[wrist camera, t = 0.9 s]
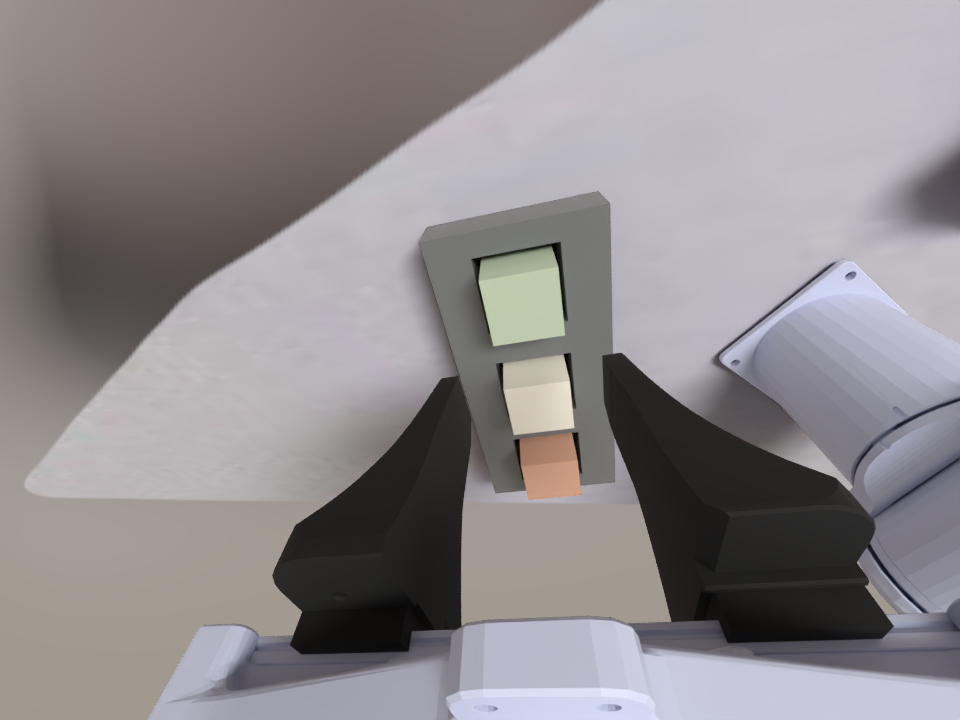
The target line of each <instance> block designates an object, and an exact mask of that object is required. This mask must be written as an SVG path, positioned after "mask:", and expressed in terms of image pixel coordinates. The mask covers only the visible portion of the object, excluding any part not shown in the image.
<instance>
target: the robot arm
mask: <svg viewBox="0 0 960 720" xmlns="http://www.w3.org/2000/svg"><path fill="white" fill-rule="evenodd" d="M849 272H851V273H850V274H849V275H848V276H847V277H845V276H846V275H847V274H848V273H849ZM719 360H720V361H721V363H722V364H723V365H725V366H726V367H727V368H729V369H730V370H732V371H733V372H735V373H736V374H737V375H739V376H740V377H742V378H743V379H745V380H746V381H747V382H749V383H750V384H752V385H753V386H754V387H756V388H757V389H759V390H760V391H762V392H763V393H764V394H766V395H767V396H769V397H770V398H772V399H773V400H774V401H776V402H777V403H779V404H780V405H781V406H782V407H783V408H784V410H785V411H786V412H787V413H788V414H789V415H790V416H791V417H792V418H793V420H794V421H795V422H796V423H797V424H798V425H799V426H800V427H801V429H802V430H803V431H804V432H805V433H806V434H807V435H808V436H809V438H810V439H811V440H812V441H813V442H814V443H815V444H816V445H817V447H818V448H819V449H820V450H821V451H822V452H823V453H824V454H825V456H826V457H827V458H828V459H829V460H830V461H831V462H832V463H833V465H834V466H835V467H836V468H837V469H838V470H839V471H840V472H841V474H842V475H843V476H844V477H845V478H846V479H847V480H848V481H849V482H850V484H851V485H852V486H853V487H852V489H851V490H850V491H848V490H847V489H846V488H845V487H844V486H843V485H842V484H841V483H840V482H839V481H838V480H837V479H836V478H834V477H832V476H829V475H826V474H824V473H821V472H818V471H815V470H813V469H810V468H807V467H805V466H802V465H799V464H796V463H794V462H791V461H789V460H786V459H784V458H781V457H779V456H777V455H774V454H772V453H770V452H767V451H765V450H763V449H761V448H758V447H756V446H754V445H752V444H750V443H748V442H746V441H744V440H742V439H740V438H738V437H736V436H734V435H732V434H730V433H728V432H726V431H724V430H722V429H721V428H719V427H717V426H715V425H713V424H712V423H710V422H708V421H707V420H705V419H704V418H702V417H700V416H699V415H697V414H695V413H694V412H692V411H691V410H689V409H688V408H687V407H685V406H684V405H682V404H681V403H680V402H678V401H677V400H676V399H674V398H673V397H672V396H670V395H669V394H668V393H666V392H665V391H664V390H663V389H661V388H660V387H659V386H658V385H657V384H655V383H654V382H653V381H652V380H651V379H649V378H648V377H647V376H646V375H645V374H644V373H643V372H642V371H641V370H639V369H638V368H637V367H636V366H635V365H634V364H633V363H632V362H631V361H630V360H629V359H628V358H627V357H626V356H625V355H623V354H622V353H616V354H609V355H602V366H603V393H604V404H605V408H606V412H607V416H608V420H609V423H610V427H611V430H612V432H613V435H614V437H615V440H616V442H617V445H618V447H619V450H620V452H621V455H622V457H623V460H624V462H625V464H626V467H627V469H628V472H629V474H630V477H631V479H632V482H633V484H634V487H635V490H636V493H637V496H638V499H639V502H640V506H641V509H642V512H643V516H644V519H645V523H646V526H647V530H648V534H649V537H650V541H651V544H652V548H653V552H654V555H655V559H656V563H657V567H658V570H659V574H660V578H661V582H662V585H663V589H664V593H665V597H666V601H667V605H668V609H669V613H670V617H671V621H672V622H656V623H628V624H627V623H624V622H621V621H619V620H616V619H614V618H611V617H598V616H574V617H573V616H571V617H549V618H547V617H546V618H521V619H497V620H496V619H495V620H482V621H477V622H470V623H466V624H465V625H463V626H461V532H462V531H461V530H462V509H463V499H464V491H465V484H466V477H467V469H468V462H469V455H470V447H471V416H470V413H469V410H468V407H467V404H466V400H465V397H464V394H463V391H462V387H461V384H460V381H459V378H458V376H456V377H449V378H442V379H441V380H440V381H439V383H438V384H437V386H436V387H435V389H434V390H433V392H432V393H431V395H430V396H429V398H428V399H427V401H426V402H425V404H424V405H423V407H422V408H421V410H420V411H419V412H418V414H417V415H416V417H415V418H414V419H413V421H412V422H411V424H410V425H409V426H408V427H407V429H406V430H405V431H404V432H403V434H402V435H401V436H400V438H399V439H398V440H397V441H396V442H395V443H394V445H393V446H392V447H391V448H390V449H389V450H388V451H387V452H386V453H385V454H384V455H383V456H382V457H381V458H380V459H379V460H378V461H377V462H376V463H375V464H374V465H373V466H372V467H371V468H370V469H369V470H368V471H367V472H365V473H364V474H363V475H362V476H361V477H360V478H359V479H358V480H357V481H356V482H354V483H353V484H352V485H351V486H349V487H348V488H347V489H346V490H345V491H343V492H342V493H341V494H339V495H338V496H337V497H336V498H334V499H333V500H332V501H330V502H329V503H327V504H326V505H325V506H323V507H322V508H321V509H319V510H317V511H316V512H314V513H313V514H312V515H310V516H309V517H307V518H306V519H304V520H303V521H301V522H300V523H298V524H296V526H295V527H294V529H293V531H292V534H291V535H290V537H289V539H288V541H287V544H286V546H285V548H284V550H283V552H282V554H281V557H280V558H279V561H278V563H277V565H276V567H275V569H274V573H273V575H272V576H273V579H274V583H275V585H276V586H277V587H278V589H279V590H280V591H281V592H282V593H283V594H284V595H285V596H286V597H288V598H289V599H290V600H291V601H292V602H293V603H294V604H295V605H296V606H297V607H298V608H299V609H300V610H301V611H302V614H301V617H300V619H299V622H298V625H297V627H296V630H295V633H294V635H292V636H264V637H259V635H258V634H257V633H256V632H255V631H254V630H253V629H252V628H250V627H248V626H245V625H241V624H217V625H203V626H201V627H199V629H198V631H197V633H196V634H195V636H194V638H193V640H192V642H191V643H190V645H189V647H188V649H187V651H186V652H185V654H184V656H183V658H182V659H181V661H180V663H179V665H178V667H177V668H176V670H175V672H174V674H173V675H172V677H171V679H170V681H169V683H168V684H167V686H166V688H165V690H164V692H163V693H162V695H161V697H160V699H159V700H158V702H157V704H156V706H155V707H154V709H153V711H152V713H151V715H150V717H149V718H148V720H960V345H959V344H958V343H956V342H954V341H952V340H950V339H949V338H947V337H945V336H943V335H941V334H940V333H938V332H936V331H934V330H932V329H930V328H929V327H927V326H925V325H923V324H921V323H920V322H918V321H916V320H914V319H912V318H911V317H910V316H909V315H908V314H907V313H906V312H905V311H904V310H903V309H902V308H901V307H900V306H898V305H897V304H896V303H895V302H894V301H893V300H892V299H891V298H890V297H889V296H888V295H887V294H886V293H885V292H884V291H883V290H882V289H881V288H880V287H879V286H878V285H877V284H876V283H875V282H874V281H872V280H871V279H870V278H869V277H868V276H867V275H866V274H865V273H864V272H863V271H862V270H861V269H860V268H859V267H858V266H857V265H856V264H855V263H853V262H851V261H849V260H841V261H839V262H837V263H835V264H834V265H833V266H832V267H830V268H829V269H828V270H827V271H825V272H824V273H823V274H821V275H820V276H819V277H818V278H816V279H815V280H814V281H813V282H811V283H810V284H809V285H807V286H806V287H805V288H804V289H802V290H801V291H800V292H799V293H797V294H796V295H795V296H794V297H792V298H791V299H790V300H788V301H787V302H786V303H785V304H783V305H782V306H781V307H780V308H778V309H777V310H776V311H774V312H773V313H772V314H771V315H769V316H768V317H767V318H766V319H764V320H763V321H762V322H761V323H759V324H758V325H757V326H755V327H754V328H753V329H752V330H750V331H749V332H748V333H747V334H745V335H744V336H743V337H741V338H740V339H739V340H738V341H736V342H735V343H734V344H733V345H731V346H730V347H729V348H728V349H726V350H725V351H724V352H722V353H721V355H720V356H719ZM734 360H736V361H735V362H733V363H732V361H734ZM858 560H859V563H860V565H861V567H862V569H863V571H864V572H863V571H862V569H861V568H860V567H859V565H858V564H857V561H858ZM865 574H866V575H865ZM868 579H869V580H870V582H871V583H872V585H873V586H874V587H875V588H876V589H877V591H878V592H879V593H880V595H881V596H882V597H883V598H884V599H885V600H886V602H887V603H888V604H889V605H890V606H891V607H892V608H893V609H894V610H895V611H896V612H897V613H898V614H885V613H884V612H883V610H882V609H881V608H880V606H879V605H878V604H877V602H876V601H875V600H874V598H873V597H872V596H871V594H870V593H869V592H868V590H867V589H866V587H865V586H866V585H868V583H869V580H868Z"/></svg>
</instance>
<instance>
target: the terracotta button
mask: <svg viewBox="0 0 960 720" xmlns="http://www.w3.org/2000/svg"><path fill="white" fill-rule="evenodd" d="M520 457H521V468H522V473H523V477H524V481H525V486H526V490H527V495H528V499H529V500H531V499H542V498H553V497H565V496H576V495H581V489H580V479H579V469H578V460H577V455H576V450H575V445H574V440H573V436H572V433H566V434H558V435H549V436H540V437H531V438H522V439H520Z"/></svg>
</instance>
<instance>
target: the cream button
mask: <svg viewBox="0 0 960 720" xmlns="http://www.w3.org/2000/svg"><path fill="white" fill-rule="evenodd" d="M503 390H504V394H505V399H506V403H507V407H508V412H509V416H510V420H511V425H512V429H513V434H514V435H519V434H528V433H537V432H545V431H554V430H563V429H571V428H574V419H573V409H572V399H571V389H570V380H569V376H568V372H567V367H566V363H565V359H564V355H563V354H559V355H552V356H545V357H539V358H532V359H525V360H518V361H511V362H504V363H503Z"/></svg>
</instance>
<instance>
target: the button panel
mask: <svg viewBox="0 0 960 720" xmlns="http://www.w3.org/2000/svg"><path fill="white" fill-rule="evenodd" d="M551 243H556V244H557V254H558V264H559V274H560V284H561V294H562V309H563V319H564V329H565V335H564V336H558V337H551V338H545V339H538V340H532V341H525V342H519V343H512V344H506V345H499V346H493V342H492V338H491V333H490V329H489V325H488V320H487V316H486V311H485V307H484V303H483V298H482V294H481V290H480V285H479V273H480V268H479V263H478V259H477V258H478V257H483V256H489V255H494V254H499V253H504V252H509V251H515V250H520V249H525V248H530V247H535V246H541V245H546V244H551ZM419 244H420V248H421V251H422V254H423V258H424V261H425V264H426V267H427V271H428V274H429V277H430V280H431V284H432V287H433V290H434V294H435V297H436V300H437V303H438V307H439V310H440V313H441V316H442V320H443V323H444V326H445V330H446V333H447V336H448V339H449V343H450V346H451V349H452V352H453V356H454V359H455V362H456V366H457V369H458V372H459V375H460V379H461V382H462V385H463V388H464V392H465V395H466V398H467V402H468V405H469V408H470V411H471V415H472V418H473V421H474V424H475V428H476V431H477V434H478V438H479V441H480V444H481V447H482V451H483V454H484V457H485V460H486V464H487V467H488V470H489V474H490V477H491V480H492V483H493V487H494V490H495V493H504V492H515V491H525V490H526V486H525V481H524V477H523V473H522V468H521V457H520V447H519V443H518V439H522V438H531V437H540V436H549V435H558V434H566V433H575V435H576V445H577V448H575V450H576V455H577V460H578V469H579V479H580V485H591V484H601V483H612V482H615V455H614V435H613V432H612V430H611V427H610V423H609V420H608V416H607V412H606V408H605V404H604V393H603V366H602V355H609V354H613V341H612V285H611V228H610V203H609V202H608V201H607V200H606V199H605V198H604V197H603V196H602V194H601V193H600V192H599V191H597V192H593V193H588V194H583V195H578V196H574V197H569V198H564V199H559V200H554V201H550V202H545V203H540V204H535V205H531V206H526V207H521V208H516V209H511V210H507V211H502V212H497V213H492V214H488V215H483V216H478V217H473V218H468V219H464V220H459V221H454V222H449V223H445V224H440V225H435V226H430V227H427V228H426V230H425V232H424V234H423V235H422V237H421V239H420V241H419ZM566 353H567V355H568V365H569V375H570V389H571V399H572V409H573V419H574V428H571V429H563V430H554V431H545V432H537V433H528V434H519V435H514V434H513V429H512V425H511V420H510V416H509V412H508V407H507V403H506V399H505V394H504V390H503V371H502V366H501V363H504V362H511V361H518V360H525V359H532V358H539V357H545V356H552V355H559V354H566Z"/></svg>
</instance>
